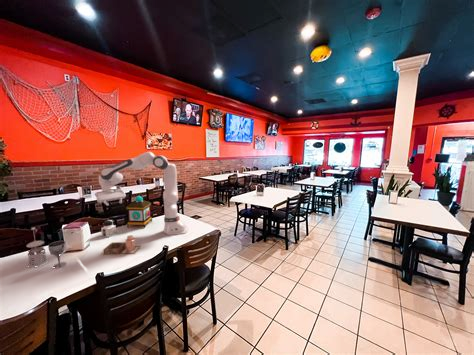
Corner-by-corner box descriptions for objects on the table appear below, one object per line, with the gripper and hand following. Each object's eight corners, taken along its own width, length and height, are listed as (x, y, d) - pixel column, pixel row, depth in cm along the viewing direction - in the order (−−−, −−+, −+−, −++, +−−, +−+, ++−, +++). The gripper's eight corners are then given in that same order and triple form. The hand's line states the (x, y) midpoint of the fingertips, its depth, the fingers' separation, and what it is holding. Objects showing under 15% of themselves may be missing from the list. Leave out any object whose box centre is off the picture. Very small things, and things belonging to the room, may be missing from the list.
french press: (29, 269, 118) (23, 232, 115) (24, 263, 124) (19, 227, 121) (50, 262, 127) (46, 226, 123) (45, 256, 133) (40, 222, 129)
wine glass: (48, 270, 118) (45, 247, 116) (53, 263, 125) (51, 242, 123) (65, 266, 122) (62, 245, 120) (69, 260, 129) (66, 239, 127)
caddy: (141, 247, 149) (141, 241, 148) (134, 255, 137) (134, 249, 136) (112, 247, 147) (112, 241, 146) (102, 256, 135) (102, 250, 135)
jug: (124, 249, 142) (123, 236, 140) (133, 246, 146) (132, 233, 145) (129, 253, 137) (128, 239, 135) (137, 250, 142) (137, 236, 140)
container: (109, 237, 163) (108, 223, 161) (101, 236, 165) (100, 222, 163) (116, 233, 171) (115, 219, 169) (109, 232, 172) (108, 218, 170)
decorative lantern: (124, 228, 182) (122, 198, 177) (135, 220, 201) (133, 193, 197) (145, 228, 182) (144, 198, 177) (154, 221, 202) (153, 193, 197)
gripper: (94, 190, 148) (100, 204, 144) (123, 186, 164) (128, 199, 160) (93, 194, 151) (98, 209, 147) (121, 190, 168) (126, 203, 163)
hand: (114, 204), depth 154 cm, fingers open, 8 cm apart
